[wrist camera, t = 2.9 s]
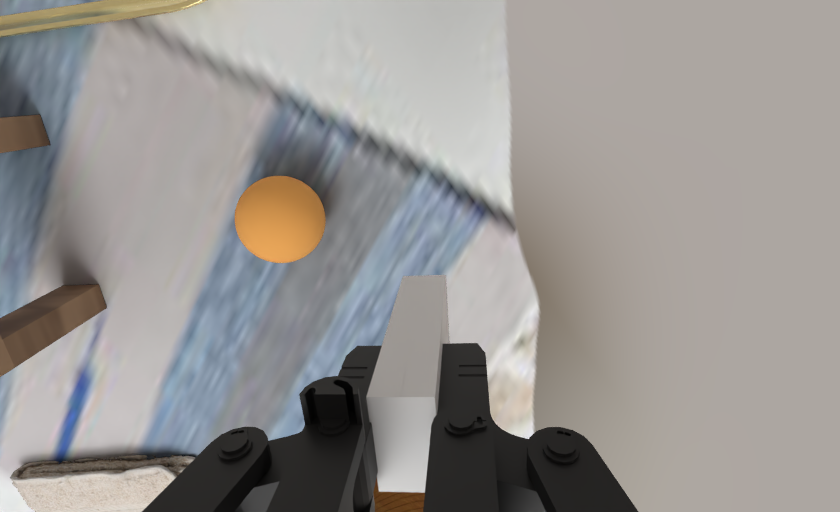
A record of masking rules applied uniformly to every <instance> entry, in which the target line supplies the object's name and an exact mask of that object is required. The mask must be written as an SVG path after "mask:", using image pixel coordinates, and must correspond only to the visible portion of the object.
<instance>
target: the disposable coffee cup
mask: <svg viewBox="0 0 840 512" xmlns="http://www.w3.org/2000/svg"><path fill="white" fill-rule="evenodd" d="M373 494H374V502H375V512H423V507H424V497H425V493H419V492H379V489H378V482H377V478H376V482H375V487H374V492H373Z"/></svg>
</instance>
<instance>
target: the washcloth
mask: <svg viewBox="0 0 840 512" xmlns="http://www.w3.org/2000/svg"><path fill="white" fill-rule="evenodd" d="M152 456H154V455H152ZM154 457H155V456H154ZM146 458H147V456H146V455H132V456H122V457H118V458H117V459H115V458H106V459H105V460H104V459H97V460H96V459H90V458H89V459H79V460H74V462H75V463H72V462H71V461H62V463H60V464H58V463H59V462H56V461H52V462H51V461H44V462H32V463H28V464H26V465H23V466H22V467H20V468H18V469H17V470H15V471H14V472H13V474H12V475H11V477H10V478H11V480H12V481H13V483H12V484H13V485H14V486H15V487H16V488H17V489H18V492H20V494H21V496H22V497H23V500H25V501H26V503H27V505H28V506H29V507H30V508H31V509H33V510H34V511H35V512H142V511H143V510H144V509H145V508H146V507H147V506H148V505H149V504H150V503H151V502H152V501H153V500H154V499H155V498H156V497H157V496H158V495H159V494H160V493H161V492H162V491H163V490H164V489H165V488H166V487H167V486H168V485H169V484H170V483H171V482H172V481H173V480H174V479H175V478H176V477H177V476H178V475H179V474H180V473H181V472H182V471H183V470H184V469H185V468H186V467H187V466H188V465H189V464H190V463H191V462H192V461H193V460H194V459H195V458H196V457H192V456H182V455H180V456H176V455H171V457H166V456H165V457H163V458H156V457H155V458H154V459H149V460H147V459H146ZM110 459H111V460H110ZM120 459H121V460H120Z"/></svg>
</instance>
